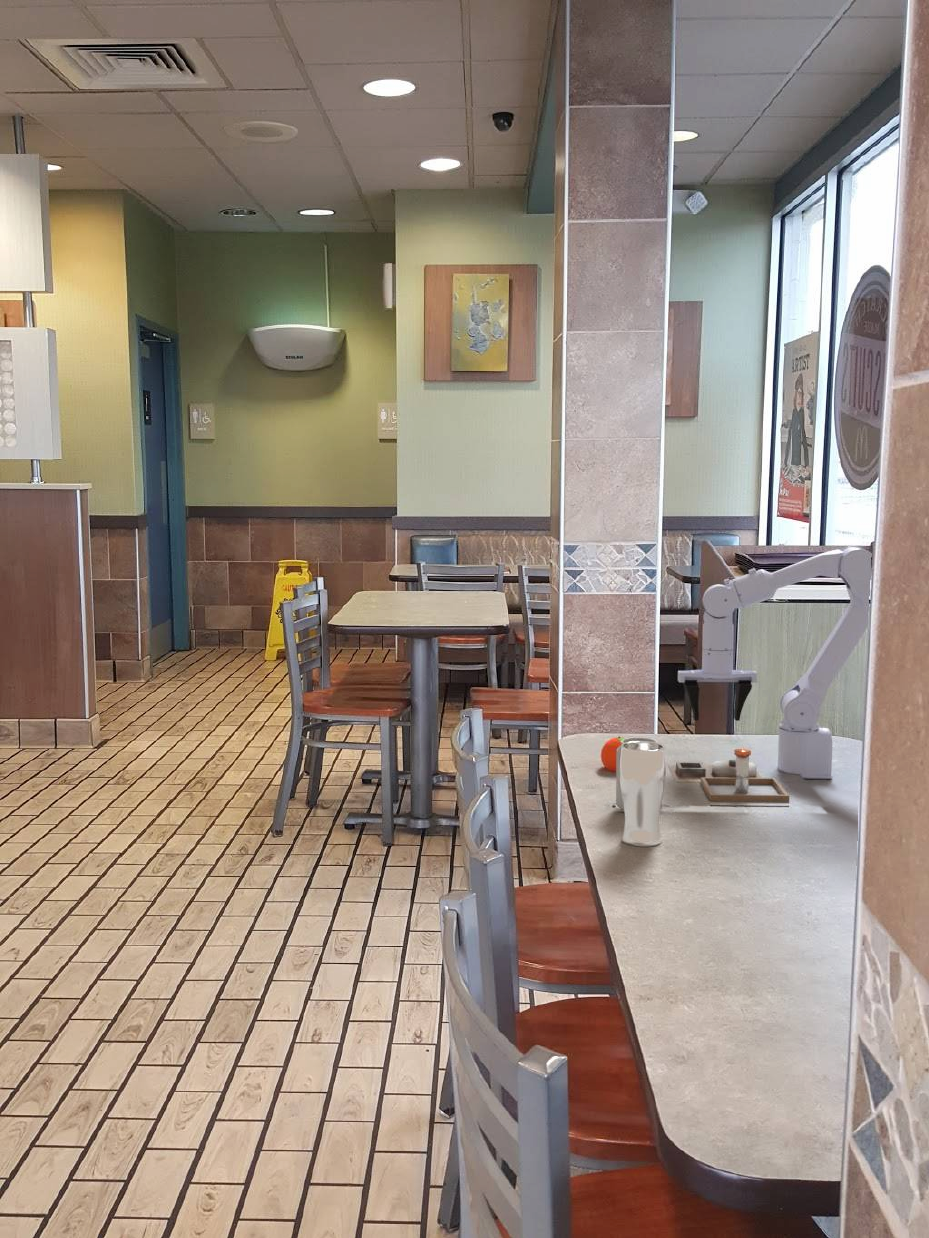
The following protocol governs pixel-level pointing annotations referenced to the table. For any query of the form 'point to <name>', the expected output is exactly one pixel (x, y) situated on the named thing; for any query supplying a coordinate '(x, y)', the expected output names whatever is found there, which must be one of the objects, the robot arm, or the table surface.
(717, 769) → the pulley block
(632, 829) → the beer glass
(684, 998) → the table surface
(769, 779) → the tray
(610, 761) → the clementine
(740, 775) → the lock pin
